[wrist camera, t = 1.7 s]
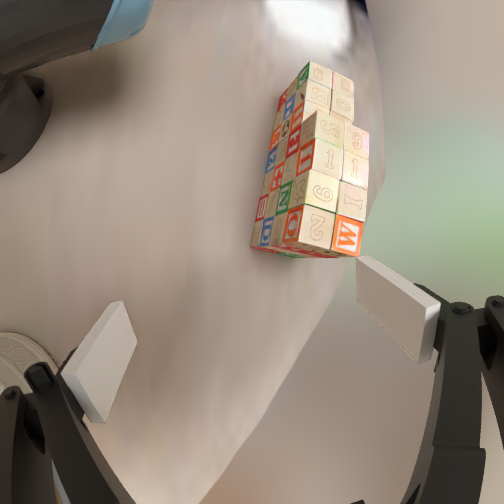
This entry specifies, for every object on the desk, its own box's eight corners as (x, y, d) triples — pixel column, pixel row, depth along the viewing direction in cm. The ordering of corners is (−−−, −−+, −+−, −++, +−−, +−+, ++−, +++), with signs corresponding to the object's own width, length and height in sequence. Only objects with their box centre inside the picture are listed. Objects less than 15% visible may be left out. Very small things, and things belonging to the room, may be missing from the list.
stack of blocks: (278, 96, 36) (323, 44, 24) (318, 112, 37) (370, 70, 26) (249, 248, 34) (298, 242, 22) (297, 259, 36) (361, 258, 24)
